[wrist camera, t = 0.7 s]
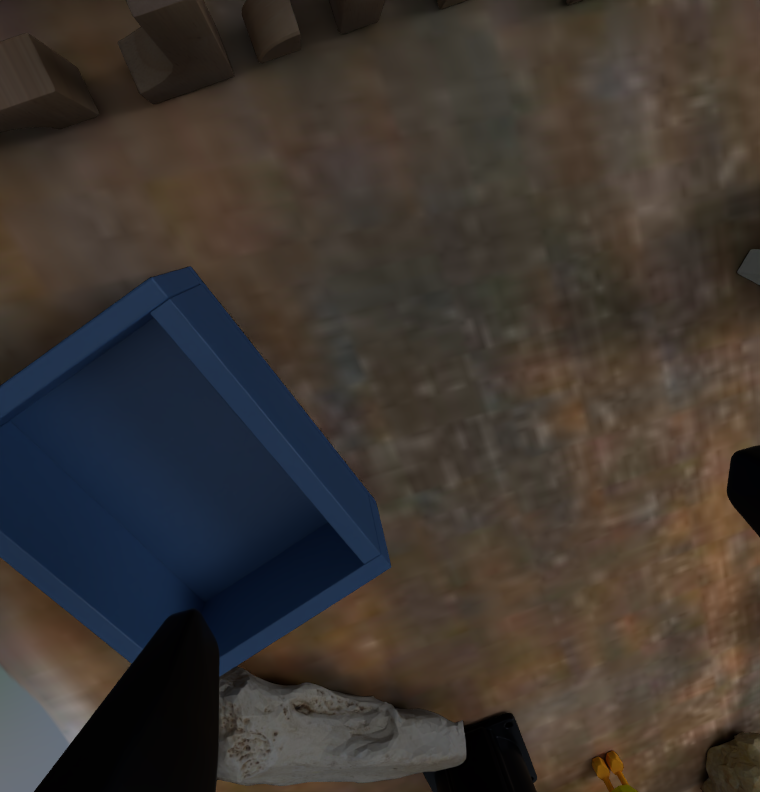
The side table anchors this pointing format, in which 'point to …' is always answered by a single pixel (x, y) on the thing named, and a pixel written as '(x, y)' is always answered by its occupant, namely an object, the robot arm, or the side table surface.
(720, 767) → the stone tool
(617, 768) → the toy figure
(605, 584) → the side table surface
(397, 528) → the side table surface
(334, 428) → the side table surface
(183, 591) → the blue box
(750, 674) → the side table surface
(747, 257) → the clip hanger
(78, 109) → the wooden blocks
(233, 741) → the bone fragment
